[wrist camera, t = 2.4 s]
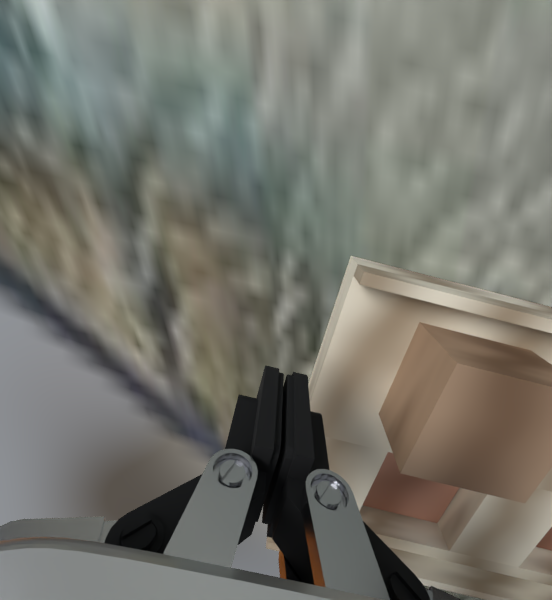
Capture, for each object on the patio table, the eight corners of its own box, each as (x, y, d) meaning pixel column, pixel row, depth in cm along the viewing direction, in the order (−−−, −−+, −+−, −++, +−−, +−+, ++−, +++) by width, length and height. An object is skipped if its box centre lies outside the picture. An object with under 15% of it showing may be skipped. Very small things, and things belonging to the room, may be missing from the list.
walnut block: (530, 350, 16) (602, 399, 12) (477, 437, 18) (525, 503, 14) (419, 322, 16) (457, 363, 12) (378, 413, 18) (400, 473, 14)
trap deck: (860, 386, 18) (990, 431, 14) (643, 587, 24) (698, 649, 21) (351, 255, 17) (364, 271, 14) (270, 498, 24) (266, 548, 20)
